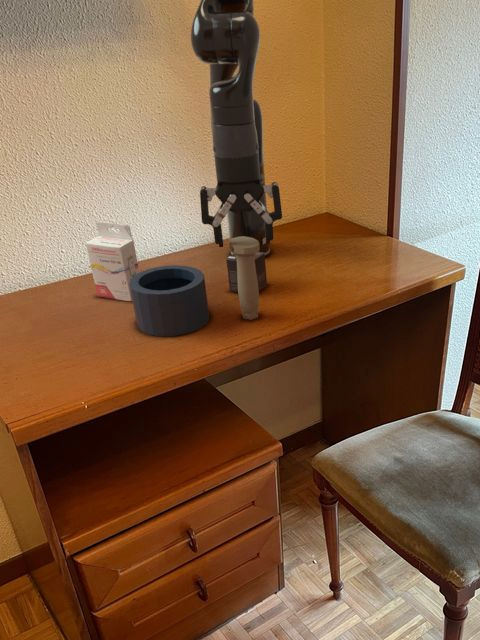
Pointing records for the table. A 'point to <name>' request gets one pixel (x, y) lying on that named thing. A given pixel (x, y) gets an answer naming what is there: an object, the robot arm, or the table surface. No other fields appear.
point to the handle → (246, 274)
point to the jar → (169, 300)
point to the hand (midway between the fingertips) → (244, 244)
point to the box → (259, 266)
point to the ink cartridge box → (113, 261)
